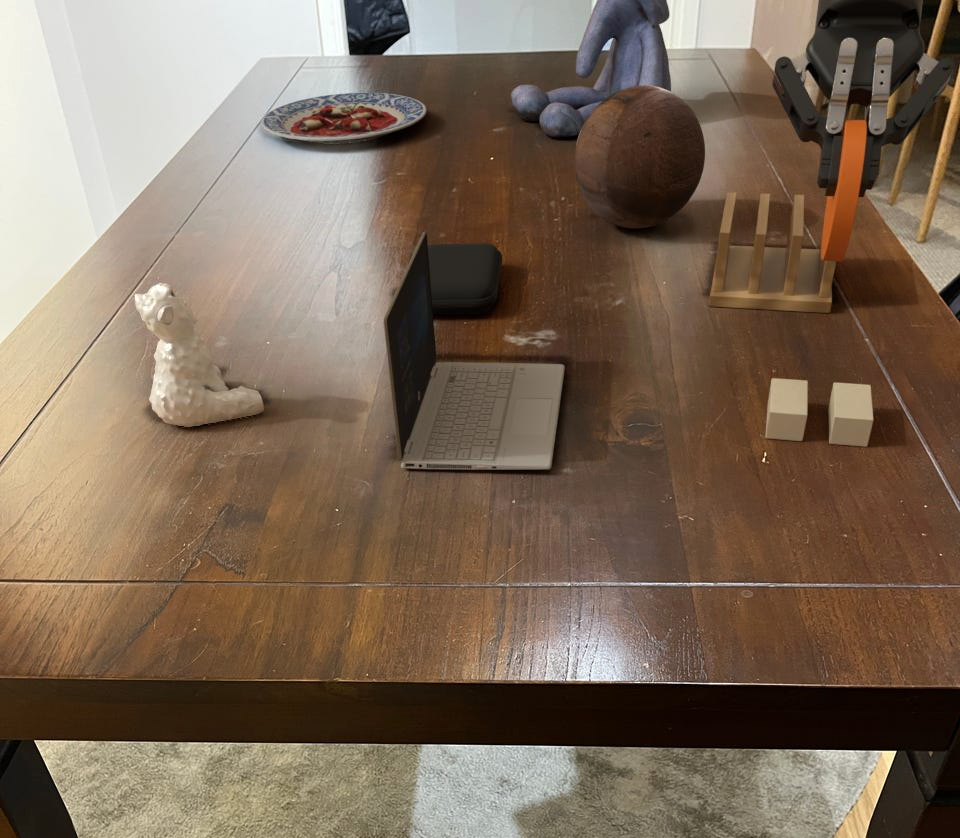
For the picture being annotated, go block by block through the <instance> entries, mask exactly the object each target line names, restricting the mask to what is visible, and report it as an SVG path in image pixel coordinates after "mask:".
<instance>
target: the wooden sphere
mask: <svg viewBox="0 0 960 838" xmlns="http://www.w3.org/2000/svg"><path fill="white" fill-rule="evenodd" d="M705 162H706V144H705V137H704V133H703V128H702V126H701V124H700V122H699V118H698V116H696V114H695V113H694V110H693V109H692V108H691V107H690V106H689V104H687V102H686V101H685V100H684V99H683V98H682V97H680V96H679V95H677V94H675V93H674V92H672V91H671V92H670V91H668V90H666V89H663V88H660V87H656V86H648V85H641V86H633V87H628V88H625V89H622V90H620V91H618V92H616V93H614V94H612V95H610V96H609V97H607V98H606V99H605V100H603V101H602V102H601V103H600V104H599V105H598V106H597V107H596V108H595V109H594V110H593V111H592V113H591V114H590V115H589V117H588V118H587V120H586V121H585V123H584V125H583V127H582V129H581V132H580V134H579V136H577V141H576V146H575V151H574V173H575V178H576V182H577V186H578V189H579V191H580V193H581V196H582V198H583V200H584V201H585V202H586V203H587V205H588V206H589V208H590V209H591V210H592V211H593V212H594V213H595V214H596V215H597V216H599V217H600V218H601V219H603V220H605V221H606V222H608V223H610V224H612V225H614V226H617V227H621V228H626V229H645V228H650V227H653V226H654V227H655V226H657V225H659V224H662V223H664V222H665V221H668V220H669V219H670V218H673V217H674V216H675V215H676V214H678V213H679V212H680V211H681V210H682V209H683V208H684V207H685V206H686V205H687V204H688V203H689V201H690V200H691V198H692V197H693V195H694V194H695V192H696V191H697V188H698V186H699V184H700V181H701V179H702V176H703V172H704V169H705V168H704V167H705Z"/></svg>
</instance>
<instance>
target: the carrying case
mask: <svg viewBox="0 0 960 838" xmlns="http://www.w3.org/2000/svg"><path fill="white" fill-rule="evenodd" d="M428 256H429V269H430V282H431V295H432V308H433V316H434V315H435V316H437V315H443V316H444V315H446V316H447V315H481V314H485V313H487V312H489V311H490V310H491V309H492V307H493V306H494V305H496V302H497V299H498V295H499V287H500V281H501V272H502V266H503V254H502V251H500V250H499V249H498V247H497V246H495V245H494V244H492V243H489V242H488V243H487V242H482V243H479V242H478V243H476V242H475V243H433V244H428Z"/></svg>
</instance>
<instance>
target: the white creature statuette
mask: <svg viewBox="0 0 960 838" xmlns="http://www.w3.org/2000/svg"><path fill="white" fill-rule="evenodd" d="M134 304H135V305H134V306H135V309H136V310H137V311H138V313H139V315H140V318H141V320H142V321H143V322H145V325H146V328H147V329H148V331H149V332H152V333H153V334H154V335H155V336H156V338H158V339H159V341H157V343H156V349H155V352H154V354H153V358H154V360H155V366H154V371H155V373H154V374H153V376H152V378H153V380H152V381H153V382H152V385H151V390H150V395H149V398H148V400H149V402H150V404H151V409H152V411H153V412H155V413H156V414H157V416H158V418H160V419H161V420H162V421H163V422H164V423H165V424H168V425H171V426H172V425H173V426H176V425H178V426H188V427H189V426H195V425H201V424H208V423H210V422H211V423H215V422H217V421H221V420H229V419H230V420H229V421H232V420H231V419H234V418H239V417H245V416H251V415H256V414H258V415H260V414H261V413H263V412H264V411H265V408H264V401H263V398H262V395H261V394H260V393H259V391H258V390H257V389H252V388H248V387H245V386H243V385H239V387H237V388H236V387H235V388H231V389H229V387H227V385H226V382H225V381H224V380H223V377H222V375H223V374H222V372H221V369H220V368H219V367H218V366H217V365H215V364H214V359H213V357H212V353H211V351H210V350H209V348H208V347H206V346H205V344H204V341H203V339H202V338H201V337H200V334H199V333H198V331H197V330H196V329H195V325H196V324H197V323H198V318H197V316H196V315H194V313H193V310H191V307H190V305H188V300H187V298H185V297H183V296H179V295H178V294H177V293H176V292H175V291H174V290H173V286H172V285H170V284H169V283H166V282H165V283H163V282H158V283H157V284H155V285H152V286H151V287H150V288H149V290H148V291H147V292H146V293H135V294H134ZM256 416H257V415H256ZM251 417H252V416H251ZM245 418H246V417H245ZM215 424H216V423H215ZM208 425H209V424H208ZM178 426H177V427H178Z"/></svg>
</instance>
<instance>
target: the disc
mask: <svg viewBox="0 0 960 838" xmlns="http://www.w3.org/2000/svg"><path fill="white" fill-rule="evenodd" d="M866 135H867V124H866V120H864V119H844V123H843V128H842V132H841V136H844V137H843V145H842V153H841V161H840V169H839V177H838V183H837V188H836V191H835V194H834V196H826V197H827V198H826V202H825V203H826V204H825V209H824V218H823V226H822V232H823V234H822V233H821V238H822V245H821V259H822V261H836V262H843V260H844V259H845V257H846V253H847V250H848V247H849V244H850V240H851V239H850V238H851V235H852V232H853V227H854V221H855V217H856V213H857V207H858V201H859V198H860V197H859V191H860V185H861V178H862V172H863V164H864V157H865V148H866Z"/></svg>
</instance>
